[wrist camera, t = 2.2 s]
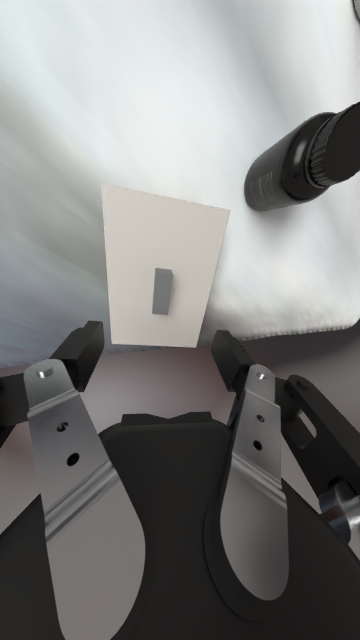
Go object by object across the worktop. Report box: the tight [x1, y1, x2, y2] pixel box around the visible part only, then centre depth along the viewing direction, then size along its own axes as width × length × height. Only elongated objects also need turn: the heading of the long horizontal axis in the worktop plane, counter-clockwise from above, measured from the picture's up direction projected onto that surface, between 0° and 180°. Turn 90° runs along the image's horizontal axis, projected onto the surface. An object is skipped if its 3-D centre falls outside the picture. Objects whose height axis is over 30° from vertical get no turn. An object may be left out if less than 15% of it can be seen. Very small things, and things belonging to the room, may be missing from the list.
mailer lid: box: [101, 183, 230, 347], centre depth 21 cm, size 14×20×6 cm
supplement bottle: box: [245, 102, 360, 211], centre depth 18 cm, size 7×7×12 cm
